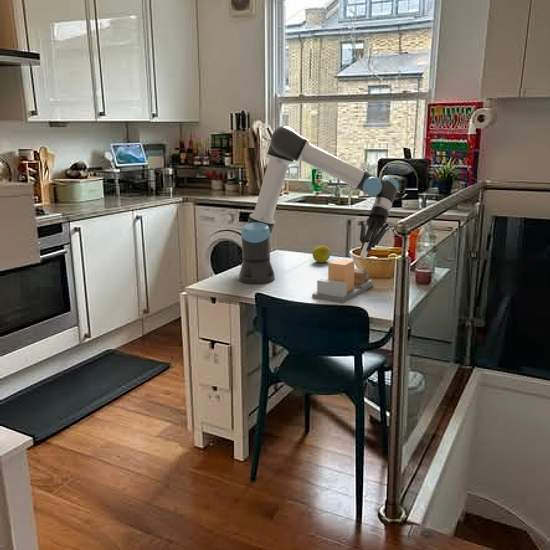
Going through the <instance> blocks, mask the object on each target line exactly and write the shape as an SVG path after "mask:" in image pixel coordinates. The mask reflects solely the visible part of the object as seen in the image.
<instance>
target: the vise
mask: <svg viewBox="0 0 550 550" xmlns="http://www.w3.org/2000/svg"><path fill="white" fill-rule="evenodd" d="M373 286H374V282H373V279H368V281H367V282H365V283H363V284H361V285H358V284H354V288H353V289H351V290H349V291H347V283H346V282H339V281H333V280H328V278H327V279H326V278H319V279H317V281H316V291H315V292H313V293H311V298H313V299H316V300H317V299H318V300H322V301H323V300H324V301H327V300H328V301H329V302H333V303H339V304H344V303H346V302H348V301H349V300H351V299H353V298H355V297H356V296H357V295H359V294H361V293H362V292H365V291H367V290H369V288H372V287H373Z"/></svg>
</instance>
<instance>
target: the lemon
mask: <svg viewBox="0 0 550 550" xmlns="http://www.w3.org/2000/svg"><path fill="white" fill-rule="evenodd" d="M331 253H332V252H331V249H330V248H329V247H328V246H327V245H323V244H322V245H317V246H316V247H315V248H314V249H313V251H312V258H313V259H314V261H315V262H317V263H321V264H322V263H325V262H327V261H328V260H329V259H330V257H331Z"/></svg>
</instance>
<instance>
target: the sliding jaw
mask: <svg viewBox="0 0 550 550" xmlns="http://www.w3.org/2000/svg"><path fill="white" fill-rule="evenodd" d="M367 281H369V270H368V269H362V268H355V267H354V284H358V285H361V284H363V283H365V282H367Z"/></svg>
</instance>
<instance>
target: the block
mask: <svg viewBox="0 0 550 550" xmlns="http://www.w3.org/2000/svg"><path fill="white" fill-rule="evenodd" d="M327 264H328V265H327V266H328V270H327V271H328V272H327V273H328V274H327V276H328V277H327V280H333V281H339V282H346V283H347V291H349V290H351V289H353V288H354V268H355V260H353V259H345V258H335V259H334V260H332V261H328V263H327Z"/></svg>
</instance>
